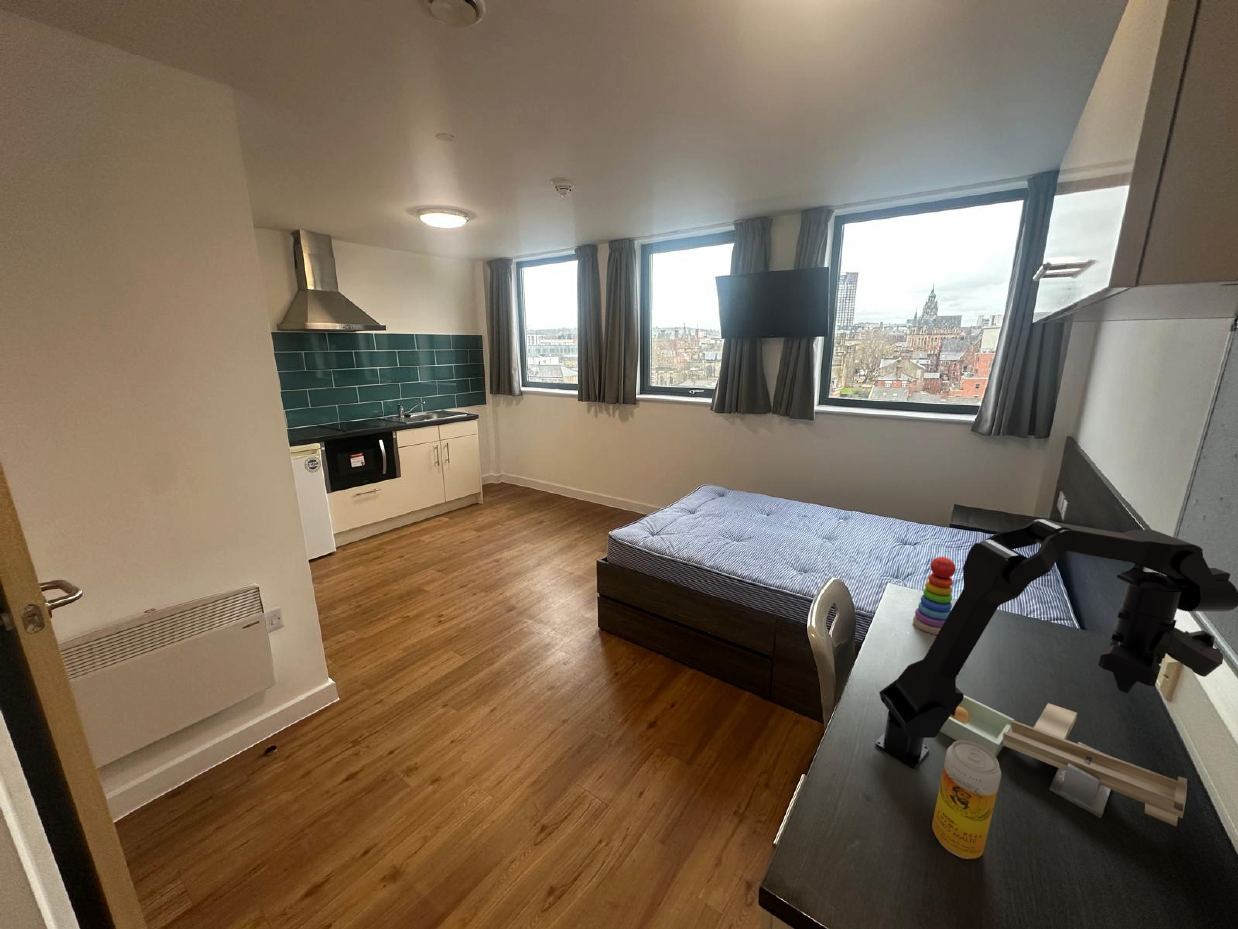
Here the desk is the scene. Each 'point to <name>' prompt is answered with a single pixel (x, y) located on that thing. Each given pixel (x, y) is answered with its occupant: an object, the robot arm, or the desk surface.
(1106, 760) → the lever
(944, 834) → the beer can
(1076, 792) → the silver support block
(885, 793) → the desk surface
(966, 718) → the ball
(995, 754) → the tray
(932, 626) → the stacking toy
